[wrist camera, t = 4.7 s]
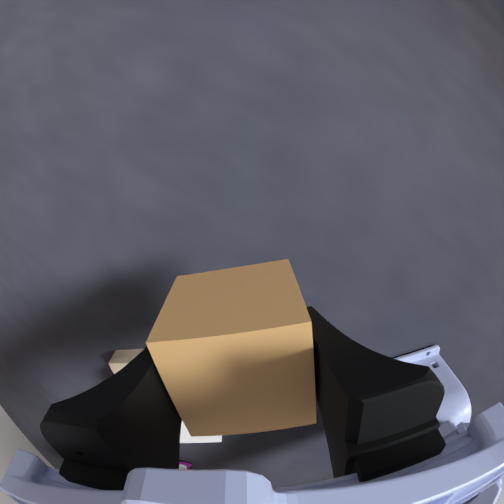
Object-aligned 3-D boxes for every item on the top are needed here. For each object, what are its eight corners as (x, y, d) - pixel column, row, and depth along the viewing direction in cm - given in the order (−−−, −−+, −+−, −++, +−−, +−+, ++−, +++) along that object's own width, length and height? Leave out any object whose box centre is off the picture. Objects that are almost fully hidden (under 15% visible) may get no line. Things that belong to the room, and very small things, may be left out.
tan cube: (288, 258, 13) (311, 321, 8) (298, 348, 15) (316, 423, 10) (177, 276, 13) (145, 342, 8) (203, 361, 15) (191, 436, 10)
